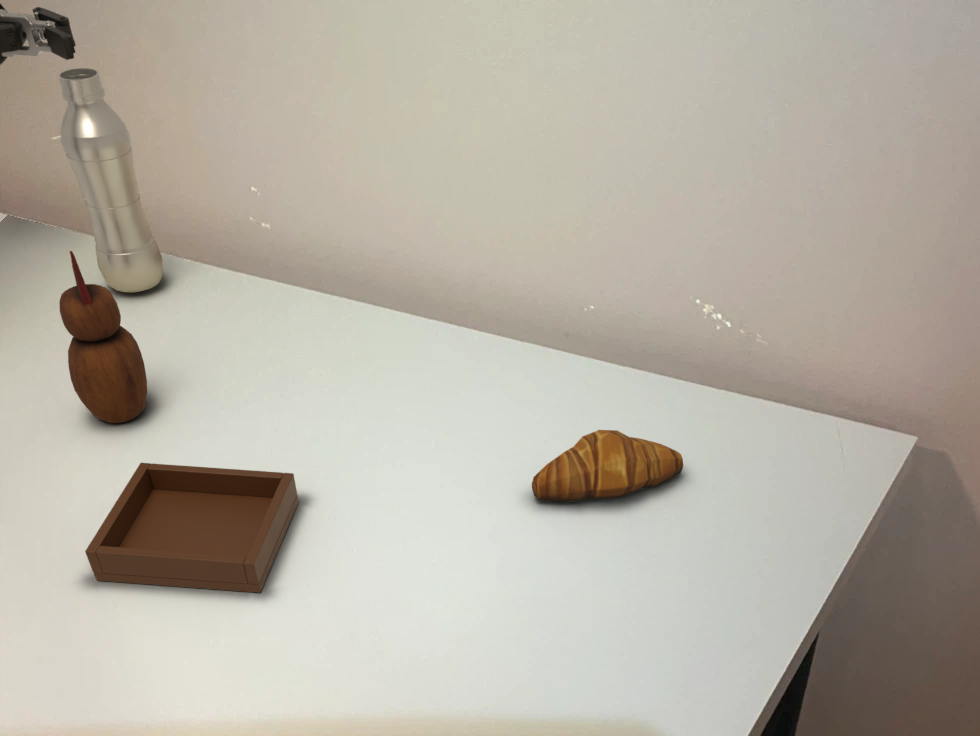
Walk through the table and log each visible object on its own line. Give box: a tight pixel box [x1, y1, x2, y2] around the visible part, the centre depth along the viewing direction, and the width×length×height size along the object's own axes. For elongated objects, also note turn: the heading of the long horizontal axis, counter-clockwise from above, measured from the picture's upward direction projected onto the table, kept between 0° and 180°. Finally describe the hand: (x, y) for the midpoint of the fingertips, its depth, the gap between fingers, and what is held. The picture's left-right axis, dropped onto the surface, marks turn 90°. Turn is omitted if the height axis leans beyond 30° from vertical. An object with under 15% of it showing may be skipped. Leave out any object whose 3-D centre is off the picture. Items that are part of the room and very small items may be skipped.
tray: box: [84, 462, 300, 594], centre depth 79 cm, size 13×12×3 cm
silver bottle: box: [58, 67, 164, 293], centre depth 102 cm, size 6×7×20 cm
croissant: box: [531, 429, 684, 503], centre depth 84 cm, size 14×7×5 cm, turn 109°
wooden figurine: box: [59, 250, 148, 424], centre depth 87 cm, size 7×6×15 cm
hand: (27, 55), depth 100 cm, fingers open, 8 cm apart
